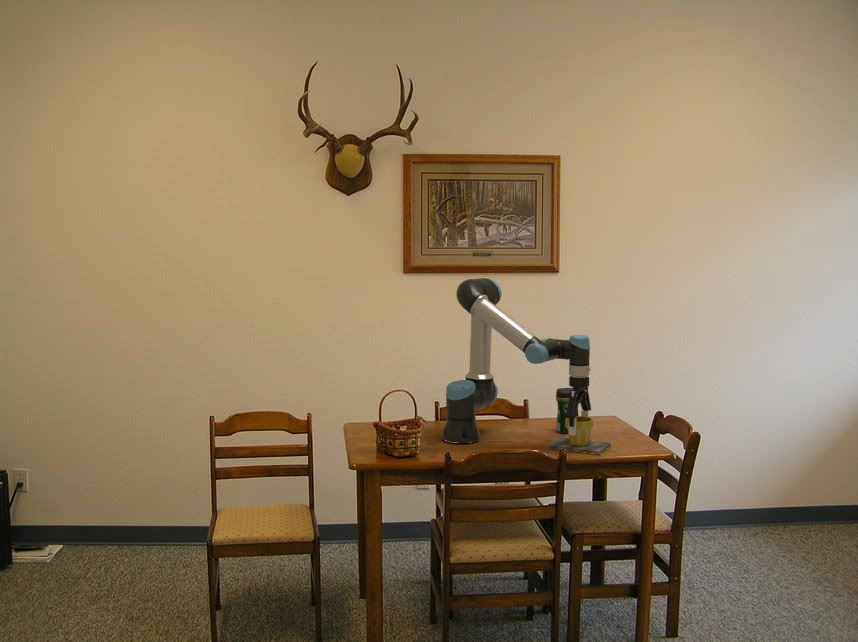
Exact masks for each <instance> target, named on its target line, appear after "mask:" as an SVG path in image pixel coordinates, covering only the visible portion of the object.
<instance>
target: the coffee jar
mask: <svg viewBox="0 0 858 642" xmlns="http://www.w3.org/2000/svg"><path fill="white" fill-rule="evenodd" d="M573 389H574V388H573V387H562V388H561V387H560V388H557V389H556V393H555V400H556V403H557V414H556V416H557V417H556V427H555V428H556V429H555V430H556V432H557V433H559V432H560V434H565V433H568V429H567V428H566V426H565V419H566V414H567V408H568V403H569V397H570V391H573ZM576 416H580V415H579V408H578V409H577V413H576Z"/></svg>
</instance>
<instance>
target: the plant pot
mask: <svg viewBox="0 0 858 642" xmlns="http://www.w3.org/2000/svg"><path fill="white" fill-rule="evenodd" d="M575 418H576V436H575V435H569V418H566V419H565V426H566V428H567V429H568V438H570V443H571V445H574V446H585V445H588V443H589V440H590V439H591V433H592V429H593V428H594V419H593V418H592V417H585V416H581V415H579V416H575Z"/></svg>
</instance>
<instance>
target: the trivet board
mask: <svg viewBox="0 0 858 642" xmlns="http://www.w3.org/2000/svg"><path fill="white" fill-rule="evenodd" d="M610 446H611V447H612V442H607V441H601V440H600V441H597V440H592V439H589V443H588V445H585V446H574V445H571V443H570V438H569V437H564V436H561V437H558V438H557V439H555V440H554V441H552V442H551V443H549V444H547V450H553V451H554V450H555V451H560V449H562V448H563V449H566V450H568V451H569V450H570V451H577V452H586V453H594V454H600V453H602V452H603V451H604V452H606V451H607V450H608V449H610V448H611V447H610ZM609 447H610V448H609ZM607 448H608V449H607ZM606 449H607V450H606ZM605 450H606V451H605ZM568 451H567V452H568ZM604 452H603V453H604ZM603 453H602V454H603ZM600 455H601V454H600Z"/></svg>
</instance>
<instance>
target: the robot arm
mask: <svg viewBox="0 0 858 642" xmlns="http://www.w3.org/2000/svg"><path fill="white" fill-rule="evenodd" d="M501 298H502V290H501V286H500V285H499V283H498V282H497V281H495V280H494V279H492V278H489V277H488V278H487V277H480V278H479V277H478V278H467V279H465V280H463V281H462V282H461V283H460V284H459V285H458V286H457V290H456V300H457V303H459V305H460V306H461V308H463V309H464V310H465V311H466V312H467V313H468V314H470V339H469V340H470V341H469V342H470V343H469V344H470V345H469V348H470V349H469V369H468V371H469V372H468V373H466V375H465V379H459V380H455V381H451V382H449V383H448V384H447V385H446V388H445V401H446V403H445V404H446V422H445V426H444V429H443V432H442V440H443V439H444V440H447V441H450V442H458V443H469V442H475V443H477V442H476V441H478V442H480V441H479V440H481V432H480V430H479V427H478V423H477V421H476V420H477V419H476V411H478V410H480V409H483V408H488V407H489V406H491V405H492V404H494V403H495V402H496V400H497V397H498V396H499V395H498V394H499V392H498V391H499V390H498V386H497V384H496V383H495V381H494V375H493V374H492V373H491V357H492V356H491V353H492V352H491V351H492V329H493V330H494V331H496V332H497V333H499V334H500V335H501V336H502V337H504V338H505V339H506V340H507V341H508V342H510V343H511V344H513V345H514V346H515V347H517V348H518V349H519V350H520V351H521V352H522V353H524V357H525V358H526V360H527V362H529V363H531V364H534V365H537V364H543V363H546V362H549V361H553V360H568V363H569V365H568V375H569V377H568V386H569V387H570V388H574V389H573V391H570V397H569V403H568V408H567V414H566V418H569V434H568V436H569V435H575V436H576V418H575V416H576V413H577V409H578V410H579V404H580V406H581V411H580V413H581V414H580V416H585V417H589V414H590V413H589V412H592V404H591V401H590V395H589V394H590V393H589V386H590V377H589V375H590V372H591V367H590V358H591V357H590V353H591V350H590V349H591V345H590V344H591V343H590V337H589V335H584V334H572V335H570V336H569V339H559V338H558V339H557V338H542V339H540V338H538V337H537V336H535V334H533V333H532V332H531V331H529V330H528V329H527V328H526V327H524V326H523V325H521V323H519V322H518V321H516V320H515V319H514V318H512V316H510V315H509V314H507V313H506V312H505V311H503V310H502V309H501V308H499V307H498V303H499V302H500V301H501Z"/></svg>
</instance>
